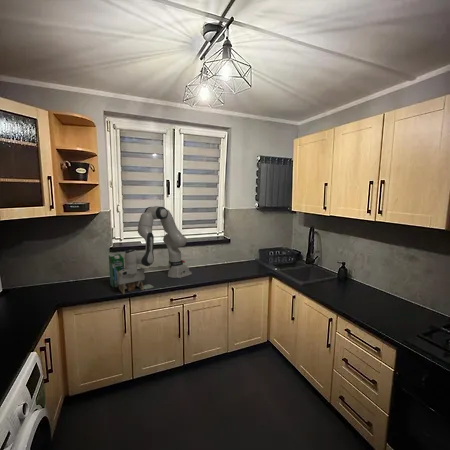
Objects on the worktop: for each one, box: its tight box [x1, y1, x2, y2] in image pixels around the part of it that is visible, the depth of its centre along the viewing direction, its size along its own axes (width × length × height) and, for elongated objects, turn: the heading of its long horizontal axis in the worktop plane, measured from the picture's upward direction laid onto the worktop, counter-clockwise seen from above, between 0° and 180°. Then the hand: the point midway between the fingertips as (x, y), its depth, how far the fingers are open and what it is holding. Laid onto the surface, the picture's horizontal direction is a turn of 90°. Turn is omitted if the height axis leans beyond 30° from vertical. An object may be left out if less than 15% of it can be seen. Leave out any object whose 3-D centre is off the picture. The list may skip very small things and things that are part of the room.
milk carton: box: [108, 253, 125, 288], centre depth 210 cm, size 9×9×25 cm
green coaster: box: [143, 283, 155, 290], centre depth 206 cm, size 8×8×1 cm
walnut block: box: [126, 282, 136, 292], centre depth 201 cm, size 5×5×6 cm
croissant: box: [118, 280, 144, 295], centre depth 201 cm, size 15×12×6 cm
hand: (131, 287), depth 200 cm, fingers open, 8 cm apart
